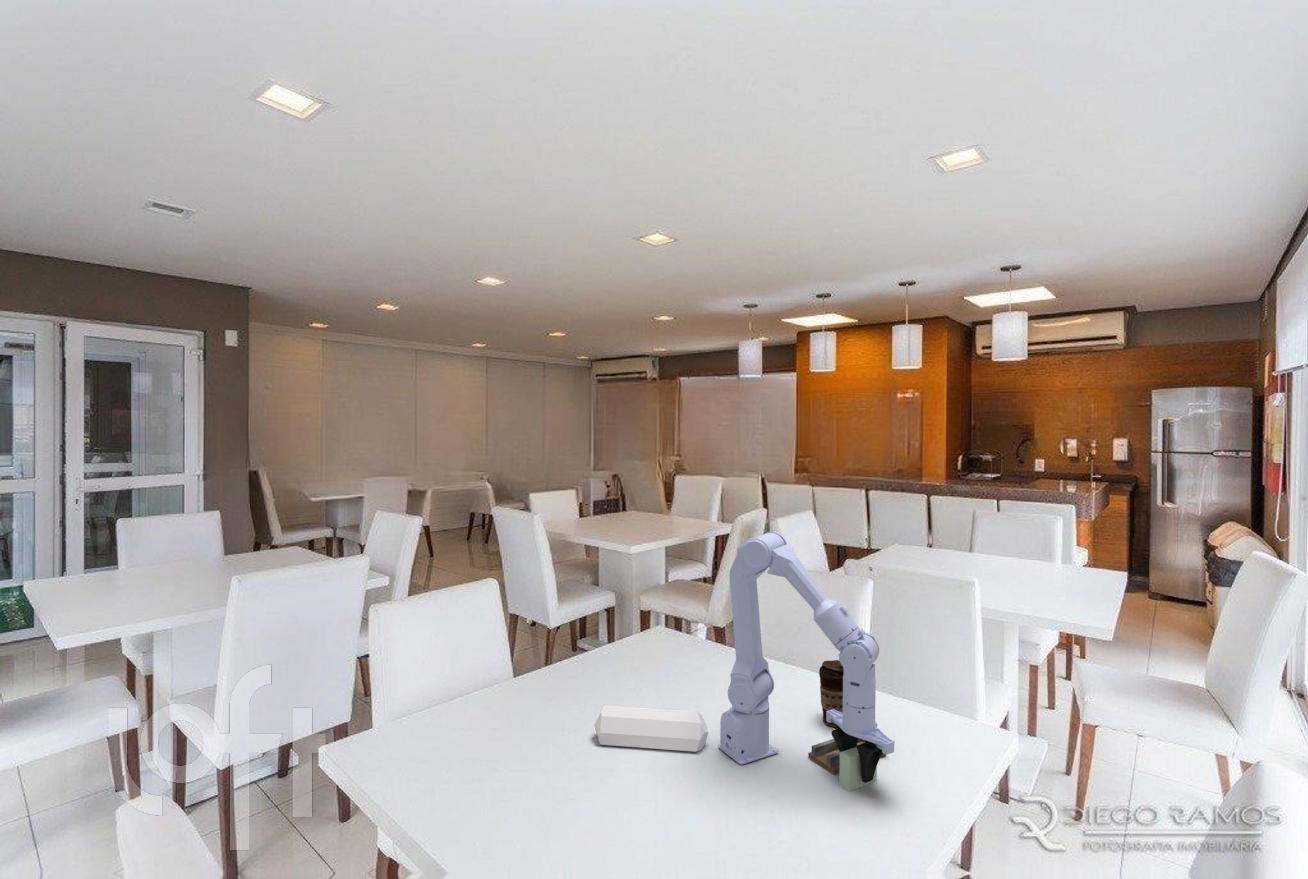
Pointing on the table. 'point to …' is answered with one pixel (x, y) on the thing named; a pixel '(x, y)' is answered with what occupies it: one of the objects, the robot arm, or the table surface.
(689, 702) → the table surface
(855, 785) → the door panel
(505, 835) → the table surface
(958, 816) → the table surface
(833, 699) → the coffee cup
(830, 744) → the track sill
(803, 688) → the table surface
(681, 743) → the crystal
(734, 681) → the robot arm
